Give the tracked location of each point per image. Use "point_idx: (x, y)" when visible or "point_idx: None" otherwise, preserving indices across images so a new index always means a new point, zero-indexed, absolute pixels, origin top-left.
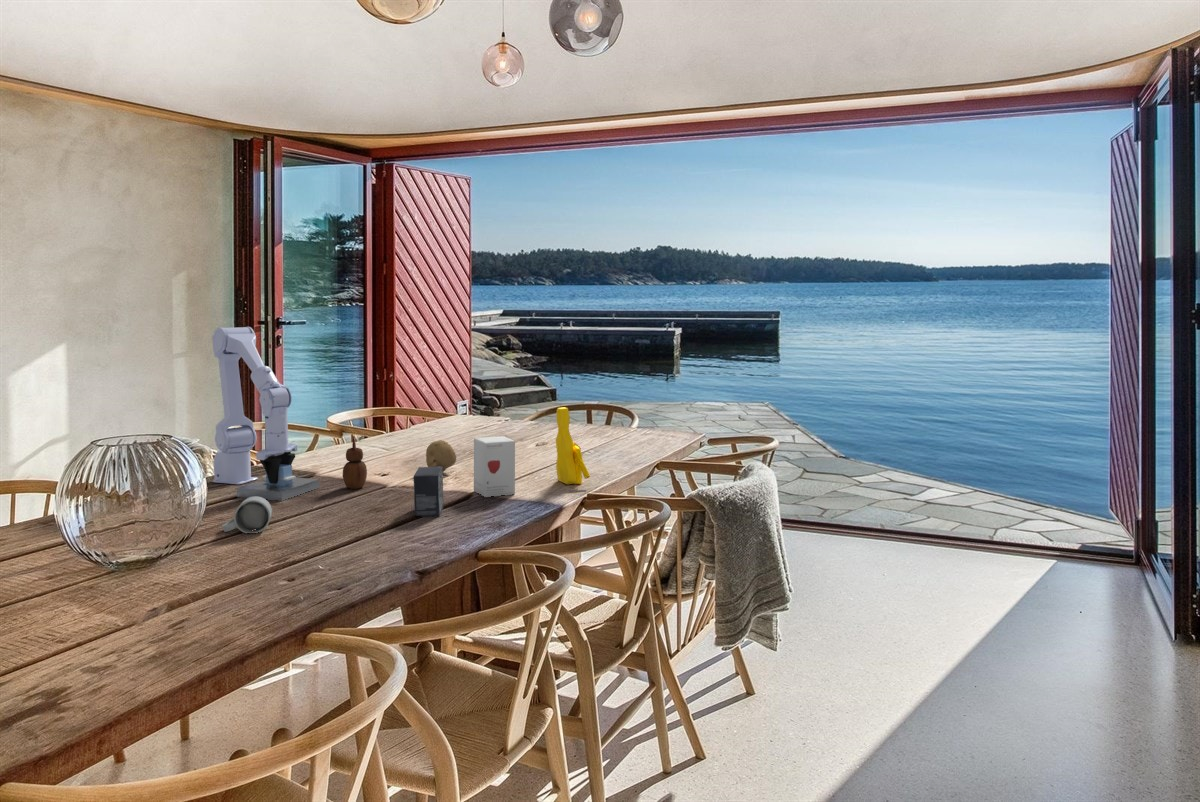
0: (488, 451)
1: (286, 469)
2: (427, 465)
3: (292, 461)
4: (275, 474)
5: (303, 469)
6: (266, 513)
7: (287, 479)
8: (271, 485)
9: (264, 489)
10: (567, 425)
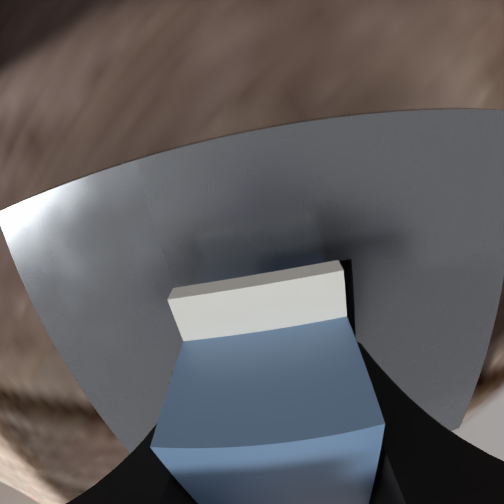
0: None
1: (296, 404)
2: None
3: (91, 491)
4: (405, 395)
5: (5, 447)
6: None
7: (335, 266)
8: None
9: (486, 292)
10: None
